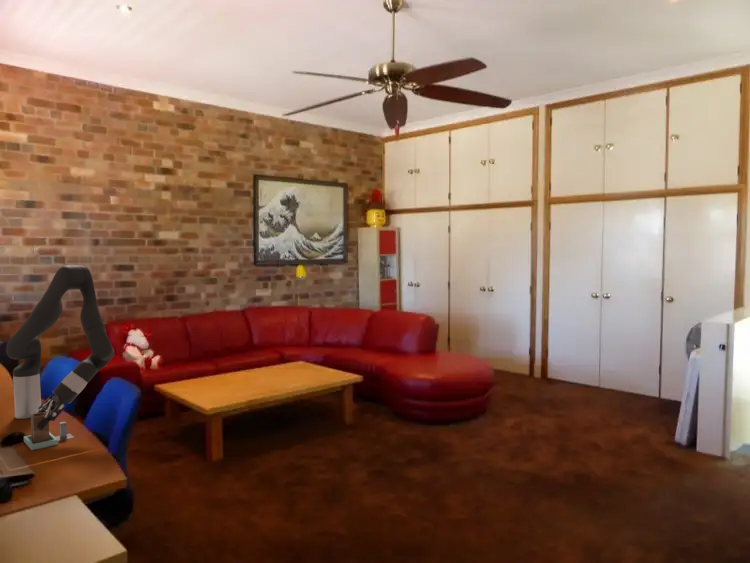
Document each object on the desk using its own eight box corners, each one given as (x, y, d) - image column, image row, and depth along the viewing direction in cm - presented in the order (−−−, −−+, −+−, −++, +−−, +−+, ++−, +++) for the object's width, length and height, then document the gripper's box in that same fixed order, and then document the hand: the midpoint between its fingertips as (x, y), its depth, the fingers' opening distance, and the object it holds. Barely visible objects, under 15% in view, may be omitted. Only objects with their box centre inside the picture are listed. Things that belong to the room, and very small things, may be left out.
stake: (52, 438, 202) (52, 422, 202) (69, 435, 206) (69, 419, 205) (57, 442, 198) (56, 426, 198) (74, 438, 202) (73, 422, 201)
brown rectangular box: (31, 442, 196) (30, 414, 196) (46, 439, 199) (45, 411, 199) (34, 445, 193) (33, 417, 192) (49, 442, 196) (48, 414, 195)
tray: (23, 443, 198) (23, 436, 197) (49, 437, 203) (49, 431, 203) (31, 452, 189) (31, 445, 189) (57, 446, 195) (57, 439, 194)
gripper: (56, 377, 205) (21, 415, 198) (67, 385, 194) (31, 424, 187) (73, 389, 209) (39, 426, 202) (84, 397, 198) (49, 436, 191)
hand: (35, 425), depth 195 cm, fingers open, 8 cm apart
